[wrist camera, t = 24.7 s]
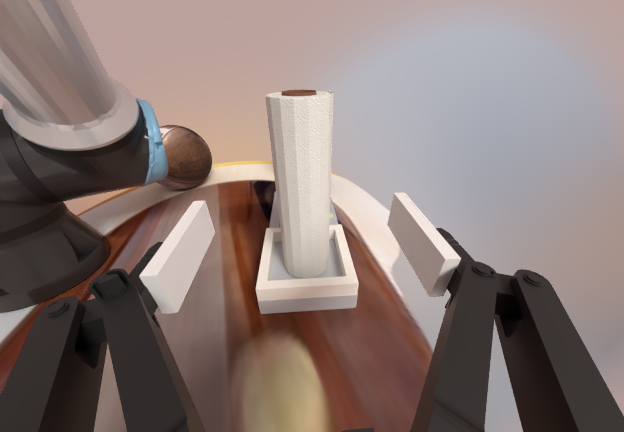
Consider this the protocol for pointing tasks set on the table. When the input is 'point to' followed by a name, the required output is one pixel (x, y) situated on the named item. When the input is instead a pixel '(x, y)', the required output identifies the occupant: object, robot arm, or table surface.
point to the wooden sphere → (184, 157)
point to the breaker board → (311, 291)
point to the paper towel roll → (302, 175)
